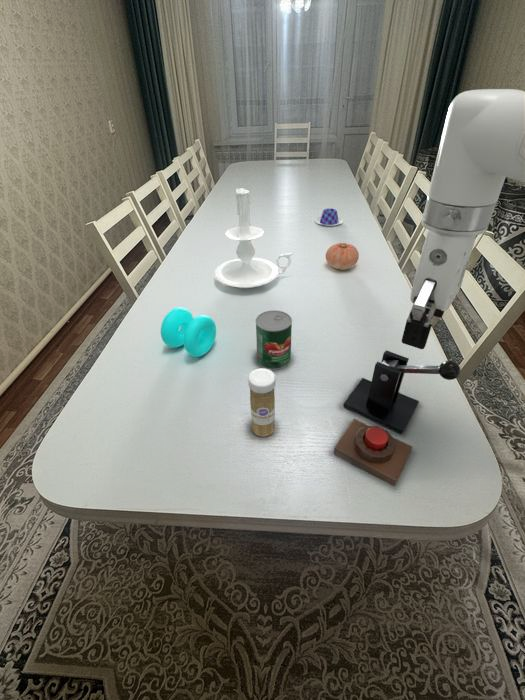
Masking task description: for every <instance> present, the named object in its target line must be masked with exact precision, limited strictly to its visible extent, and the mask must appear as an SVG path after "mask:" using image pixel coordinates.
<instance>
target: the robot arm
mask: <svg viewBox="0 0 525 700" xmlns="http://www.w3.org/2000/svg"><path fill="white" fill-rule="evenodd" d="M449 104H450V105H449V107H448V111H447V113H446V117H445V121H444V125H443V129H442V134H441V139H440V142H439V147H438V151H437V155H436V158H435V163H434V167H433V172H432V176H431V180H430V184H429V187H428V188H429V189H428V193H427V198H426V201H425V205H424V209H423V214H422V218H421V221H420V224H421V226H422V227H423V228H424V229H426V230H427V232H426V236H425V240H424V242H423V245H422V250H421V252H420V257H419V260H418V264H417V268H416V271H415V275H414V279H413V283H412V287H411V292H410V298H409V300H410V302H411V303H412V307H411V309H410V312H409V314H408V316H407V318H406V320H405V326H404V330H403V333H402V338H401V343H402V344H403V345H406V346H411V347H413V348H415V349H419V350H424V349H425V348H426V345H427V343H428V339H429V335H430V333H431V329H432V326H433V324H431V322H432V320H433V318H434V317H436V318H443V316H444V313H445V312H446V311H447V310H448V309H449V308H451V305H452V304H453V302H454V300H455V298H456V296H457V295H458V293H459V291H460V290H461V287H462V284H463V280H464V277H465V274H466V270H467V267H468V264H469V261H470V258H471V255H472V252H473V248H474V245H475V242H476V238H477V236H480V235H483V234H485V233H486V232H487V231H488V228H489V225H490V222H491V219H492V216H493V214H494V212H495V209H496V206H497V203H498V200H499V197H500V195H501V191H502V190H503V189H502V188H503V186H504V184H505V180H506V178H507V179H508V178H509V179H511V180H515V181H518V182H521V183H525V91H524V90H521V89H516V88H515V89H514V88H484V89H482V88H481V89H471V90H465V91H462V92H460V93H458V94H457V95H456V96H455V97H454V98H453V99H452V101H451V103H449Z"/></svg>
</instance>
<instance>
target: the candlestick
mask: <svg viewBox="0 0 525 700" xmlns="http://www.w3.org/2000/svg"><path fill="white" fill-rule="evenodd" d="M250 198H251V197H250V190H248V189H246V188H244V187H240V188H236V189H235V201H236V208H237V215H238V225H239V226H234V227H232V228H229V229H228V230H226V231H225V232H224V234H225V237H227V238H228V239H230V240H235V241H238V245H237V247H236V250H235V254H236V256H237V258H235V259H231V260H226V261H224V262H223V263H221V264H219V265H218V266H217V267H216V268H215V269H214V271H213V276H214V278H215V279H216V280H217V282H219V283H221V284H223V285H225V286H228V287H233V288H237V289H253V288H258V287H260V286H264V285H266V284H269V283H271V282H272V281H274V280H275V279H277V278H278V276H279V275H283V274H285V272H286V270H287V268H289V267H290V265H291V263H292V261H291V256H293V252H289V253H282V254H281V253H280V254H279V255H278V256H277V257H276V260H275V263H276V264H275V263H274V262H272V261H270V260H267V259H263V258H259V257H255V254H256V249H255V247H254V245H253V244H252V242H251V241H252V240H255V239H259V238H261V237H262V236H264V233H265V231H264V229H262V228H261V227H258V226H253V225H251V199H250ZM281 258H287V260H288V262H287V263H286V264H284V265H281V264H280V263H279V260H280V259H281ZM279 268H280V269H282V271H280V269H279Z"/></svg>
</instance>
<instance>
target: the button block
mask: <svg viewBox="0 0 525 700" xmlns="http://www.w3.org/2000/svg"><path fill="white" fill-rule="evenodd" d="M372 427H377V428H380V429H382V430H384V431H385V432H386V434H387V436H388V440H387V443H386V446H385V448H384V449H382V450H379V451H376V450H372V449H370V448H368V447H367V446H366V444H365V442H364V438H365V434H366V431H367V430H368V429H369V428H372ZM412 450H413V446H412V445H410V444H408V443H406V442H405V441H402V440H400V439H397V438H395V437H394V436H393V435H392V434H391V433H390V432H389V431H388V430H387V429H384V428H382V427H381V426H378V425H368V424H366V423H364V422H362V421H359V420H357V419H355V418H353V420H352V421H351V423H350V424H349V426H348V427H347V428H346V430H345V432H344V433H343V434H342V436H341V437H340V439H339V440H338V441H337V443H336V444H335V446H334V449H333V454H334V455H336V456H337V457H339V458H341V459H342V460H345V461H347V462H349V463H351V464H352V465H354V466H356V467H357V468H360V469H361V470H363V471H365V472H367V473H369V474H371V475H373V476H375V478H378V479H380V480H382V481H384V482H385V483H387V484H389V485H391V486H393V487H395V486H396V484H397V482H398V480H399V478H400V476H401V474H402V472H403V470H404V467H405V466H406V464H407V461H408V459H409V457H410V455H411V452H412Z"/></svg>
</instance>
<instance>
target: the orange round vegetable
mask: <svg viewBox="0 0 525 700" xmlns="http://www.w3.org/2000/svg"><path fill="white" fill-rule="evenodd" d="M359 258H360V253H359V251H358V249H357V248H356V247H355V246H354V245H352V244H350V243H347V242H338V243H334V244H332V245H331V246H329V247H328V248H327V250H326V252H325V260H326V262H327V264H328V265H329V266H330V267H331V268H333V269H336V270H339V271H340V270H342V271H343V270H348V269H351V268H353V267H354V266H356V264H357V263H358V261H359Z"/></svg>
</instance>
